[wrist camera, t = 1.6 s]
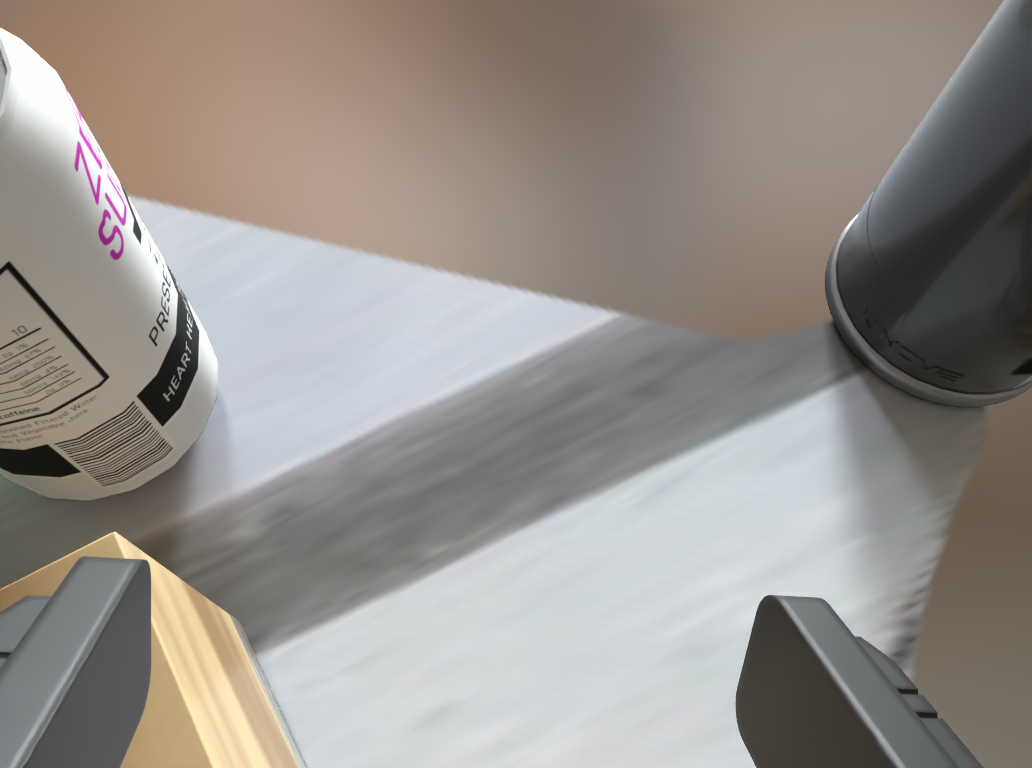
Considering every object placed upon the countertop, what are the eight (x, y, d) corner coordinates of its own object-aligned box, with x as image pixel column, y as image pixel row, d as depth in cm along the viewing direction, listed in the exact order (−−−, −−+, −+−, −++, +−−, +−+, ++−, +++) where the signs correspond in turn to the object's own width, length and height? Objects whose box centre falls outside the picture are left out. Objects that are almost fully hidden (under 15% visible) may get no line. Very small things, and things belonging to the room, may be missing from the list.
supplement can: (-61, 427, 30) (-485, 136, 17) (108, 266, 34) (-135, -87, 20) (109, 552, 29) (-209, 342, 15) (269, 371, 32) (124, 64, 18)
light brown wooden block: (240, 621, 28) (114, 529, 18) (313, 778, 26) (217, 772, 16) (109, 694, 27) (-101, 638, 17) (175, 864, 25) (-18, 914, 15)
